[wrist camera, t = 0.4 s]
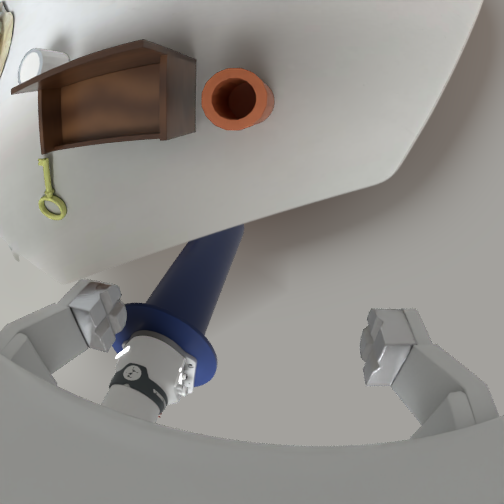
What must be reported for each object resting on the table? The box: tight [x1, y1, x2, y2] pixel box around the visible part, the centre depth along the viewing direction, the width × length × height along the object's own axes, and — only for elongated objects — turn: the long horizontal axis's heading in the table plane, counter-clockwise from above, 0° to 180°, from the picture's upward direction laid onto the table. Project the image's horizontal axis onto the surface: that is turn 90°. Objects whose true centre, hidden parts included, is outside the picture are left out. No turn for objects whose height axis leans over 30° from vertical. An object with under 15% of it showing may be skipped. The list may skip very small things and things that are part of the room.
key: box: [38, 158, 67, 220], centre depth 40 cm, size 7×12×2 cm, turn 7°
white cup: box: [18, 48, 69, 84], centre depth 27 cm, size 7×7×7 cm
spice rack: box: [11, 39, 196, 155], centre depth 26 cm, size 10×20×14 cm, turn 88°
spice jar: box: [202, 68, 274, 130], centre depth 27 cm, size 6×6×10 cm
